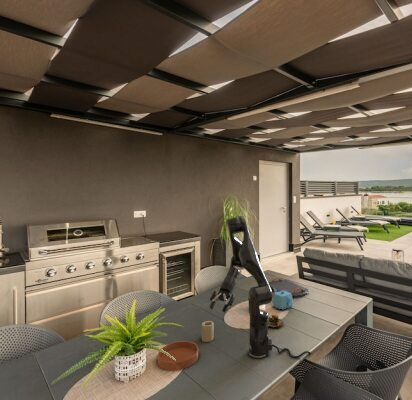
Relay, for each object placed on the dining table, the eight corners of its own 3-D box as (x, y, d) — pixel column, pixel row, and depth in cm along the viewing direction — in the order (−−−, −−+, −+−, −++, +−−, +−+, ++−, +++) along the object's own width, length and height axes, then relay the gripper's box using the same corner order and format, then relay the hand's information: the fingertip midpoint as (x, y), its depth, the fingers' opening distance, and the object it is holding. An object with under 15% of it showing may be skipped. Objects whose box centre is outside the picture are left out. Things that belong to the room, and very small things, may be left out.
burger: (260, 321, 170) (261, 309, 170) (278, 319, 174) (278, 307, 174) (267, 330, 159) (267, 317, 159) (286, 327, 163) (286, 315, 163)
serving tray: (262, 286, 238) (262, 278, 238) (283, 281, 251) (284, 275, 251) (289, 300, 206) (289, 292, 206) (312, 294, 218) (312, 287, 218)
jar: (214, 336, 152) (214, 320, 152) (212, 342, 146) (212, 326, 146) (202, 336, 151) (202, 321, 151) (200, 342, 145) (200, 326, 145)
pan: (201, 347, 140) (201, 340, 140) (194, 369, 122) (194, 361, 122) (164, 348, 139) (165, 341, 139) (152, 371, 121) (152, 363, 121)
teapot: (279, 300, 205) (279, 285, 205) (296, 308, 191) (296, 292, 191) (266, 304, 197) (266, 288, 197) (283, 313, 183) (283, 296, 183)
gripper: (216, 279, 167) (204, 305, 156) (236, 283, 161) (225, 309, 150) (221, 285, 172) (209, 310, 161) (240, 289, 166) (230, 315, 155)
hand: (217, 310), depth 156 cm, fingers open, 8 cm apart
